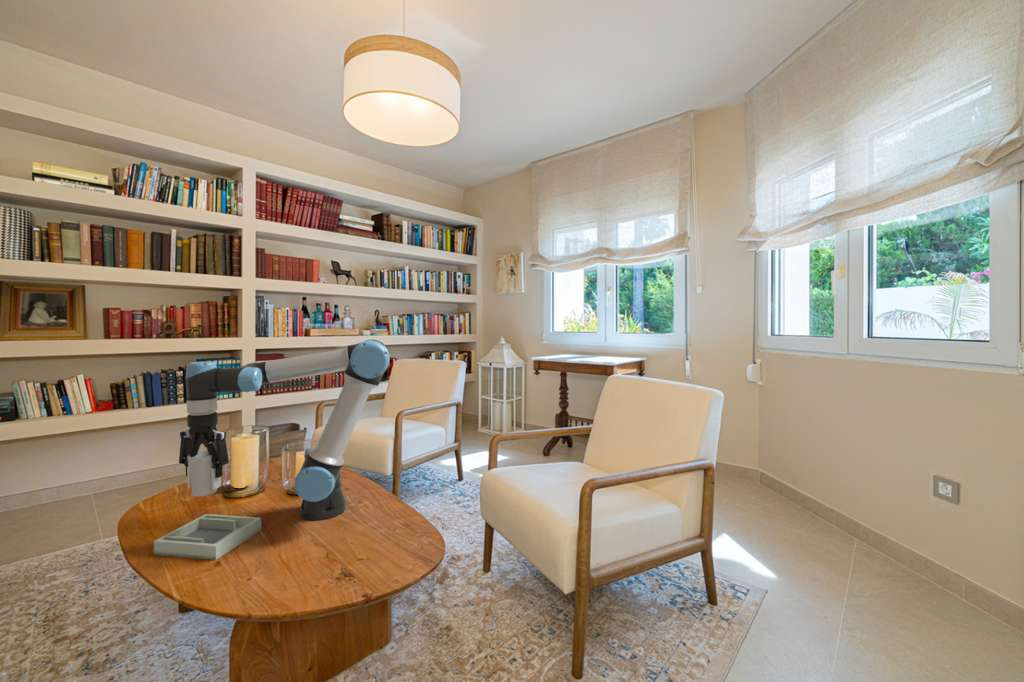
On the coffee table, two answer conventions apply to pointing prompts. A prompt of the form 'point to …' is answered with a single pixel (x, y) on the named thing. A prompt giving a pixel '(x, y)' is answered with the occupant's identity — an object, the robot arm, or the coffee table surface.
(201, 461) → the cup
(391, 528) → the coffee table surface
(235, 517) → the box
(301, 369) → the robot arm
